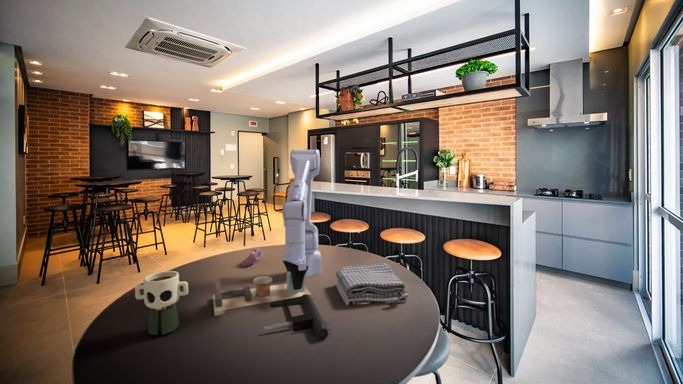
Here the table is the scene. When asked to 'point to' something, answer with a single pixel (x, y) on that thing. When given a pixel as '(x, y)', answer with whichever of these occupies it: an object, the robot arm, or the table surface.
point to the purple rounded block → (252, 257)
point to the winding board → (252, 295)
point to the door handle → (300, 317)
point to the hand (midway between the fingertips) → (295, 286)
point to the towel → (370, 284)
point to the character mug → (162, 300)
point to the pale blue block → (290, 285)
